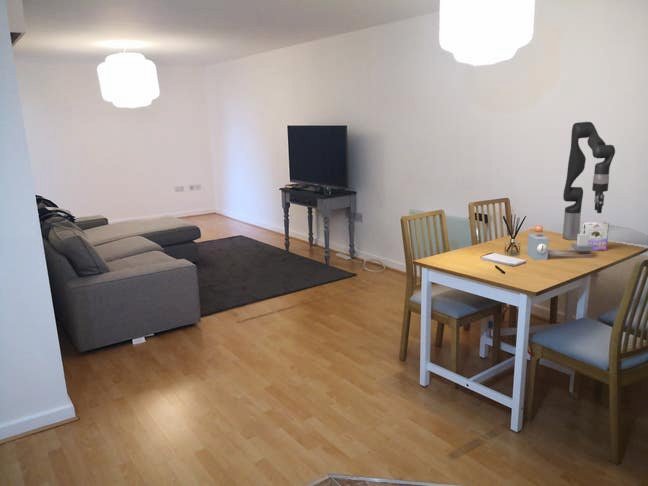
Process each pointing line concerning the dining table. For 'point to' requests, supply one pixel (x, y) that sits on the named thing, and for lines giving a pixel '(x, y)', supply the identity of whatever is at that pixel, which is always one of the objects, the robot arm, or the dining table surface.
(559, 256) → the rail track
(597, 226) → the candy box
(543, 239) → the end cabinet
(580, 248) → the carriage
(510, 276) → the dining table surface
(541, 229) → the button
